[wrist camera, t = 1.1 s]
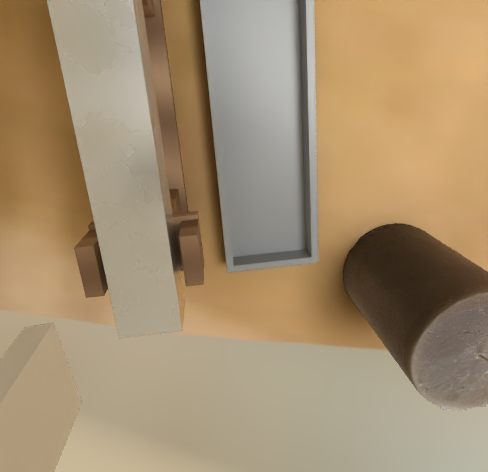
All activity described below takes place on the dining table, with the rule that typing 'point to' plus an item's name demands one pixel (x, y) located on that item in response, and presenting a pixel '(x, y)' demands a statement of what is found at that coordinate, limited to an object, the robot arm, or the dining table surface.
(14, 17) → the dining table surface
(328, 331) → the dining table surface
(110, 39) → the rail
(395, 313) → the pillar candle
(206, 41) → the tray
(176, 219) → the rack
